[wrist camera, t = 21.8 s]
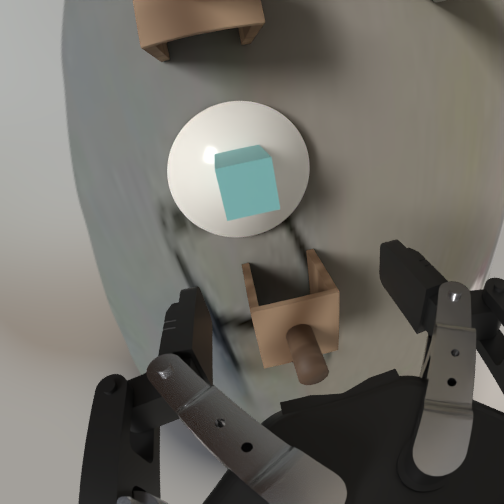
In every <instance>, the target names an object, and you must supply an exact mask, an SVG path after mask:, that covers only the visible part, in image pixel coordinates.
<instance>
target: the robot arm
mask: <svg viewBox="0 0 504 504" xmlns="http://www.w3.org/2000/svg"><path fill="white" fill-rule="evenodd" d="M433 1H434V2H435V3H438V2H442V1H447V0H433ZM379 274H380V280H381V283H382V285H383V286H384V288H385V289H386V290H387V292H388V293H389V295H390V296H391V297H392V299H393V300H394V302H395V303H396V304H397V306H398V307H399V309H400V310H401V311H402V313H403V314H404V316H405V317H406V319H407V320H408V322H409V323H410V324H411V326H412V327H413V329H414V330H415V332H416V333H417V334H418V333H421V332H423V331H427V332H428V336H427V341H426V346H425V352H424V357H423V362H422V367H421V372H420V376H419V377H416V376H399V375H398V373H397V371H396V369H393V370H390V371H388V372H385V373H382V374H379V375H376V376H374V377H371V378H368V379H367V380H365V381H363V382H362V383H360V384H358V385H357V386H355V387H353V388H352V389H350V390H348V391H346V392H344V393H341V394H329V395H310V396H306V397H302V398H298V399H293V400H289V401H285V402H280V404H281V409H282V410H281V411H279V412H277V413H275V414H274V415H272V416H270V417H269V418H267V419H266V420H265V421H263V422H262V423H261V424H260V423H259V422H258V421H256V420H255V419H254V418H253V417H251V416H250V415H249V414H248V413H246V412H245V411H244V410H243V409H242V408H240V407H239V406H238V405H237V404H236V403H234V402H233V401H232V400H231V399H230V398H229V397H227V396H226V395H225V394H224V393H223V392H222V391H221V390H219V389H218V388H217V387H216V386H214V385H213V372H212V321H211V317H210V313H209V311H208V308H207V306H206V303H205V301H204V298H203V295H202V293H201V290H200V288H199V287H198V286H197V287H193V288H188V289H183V290H181V292H180V298H179V302H178V303H174V304H172V305H171V306H170V308H169V309H168V311H167V312H166V316H165V321H164V322H165V323H164V326H163V332H162V337H161V343H160V349H159V355H158V357H156V358H155V359H154V360H152V361H151V362H150V364H149V365H148V367H147V371H146V373H145V374H143V375H140V376H138V377H135V378H133V379H131V380H128V381H127V380H126V379H125V378H124V377H123V376H122V375H119V374H112V375H109V376H107V377H105V378H104V379H102V380H101V381H100V382H99V384H98V385H97V387H96V390H95V395H94V399H93V404H92V409H91V415H90V420H89V426H88V432H87V437H86V443H85V450H84V457H83V465H82V473H81V482H80V493H79V504H168V503H167V502H165V501H163V500H161V499H160V426H161V425H164V424H166V423H169V422H172V421H174V420H177V419H180V420H181V421H182V422H183V423H184V424H185V425H186V426H187V428H188V429H189V430H190V431H191V432H192V433H193V434H194V435H195V436H196V437H197V438H198V440H199V441H200V442H201V443H202V444H203V445H204V446H205V447H206V448H207V449H208V450H209V451H210V452H211V453H212V454H213V455H214V456H215V457H216V458H217V459H218V460H219V461H220V462H221V463H222V464H223V465H224V466H225V467H226V468H227V469H228V470H227V471H226V473H225V474H224V476H223V477H222V478H221V480H220V481H219V482H218V484H217V485H216V487H215V488H214V489H213V491H212V492H211V493H210V495H209V496H208V497H207V498H206V500H205V501H204V502H203V504H504V413H503V412H501V411H498V410H496V409H494V408H491V407H489V406H486V405H484V404H482V403H479V402H477V401H474V400H473V389H474V378H475V377H474V376H475V362H476V361H475V360H476V349H477V351H478V353H479V354H480V356H481V357H482V359H483V360H484V362H485V364H486V365H487V367H488V368H489V370H490V372H491V373H492V375H493V377H494V378H495V380H496V382H497V383H498V385H499V387H500V389H501V391H502V392H503V394H504V335H503V334H502V332H501V331H500V330H499V328H500V326H501V323H502V325H503V326H504V280H503V279H500V278H491V279H488V280H487V281H486V283H485V286H484V290H474V291H469V289H468V288H467V287H466V286H465V285H463V284H461V283H459V282H453V281H450V282H448V281H447V280H446V279H445V278H444V277H443V276H442V275H441V274H440V273H439V272H438V271H437V270H436V269H435V268H434V267H433V266H432V265H431V264H430V263H429V262H428V261H427V260H425V258H424V257H423V256H422V255H421V254H420V253H419V252H417V251H415V250H413V249H411V248H406V247H405V246H404V245H403V244H402V243H401V242H400V241H399V240H393V241H389V242H385V243H382V244H381V246H380V270H379Z"/></svg>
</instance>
